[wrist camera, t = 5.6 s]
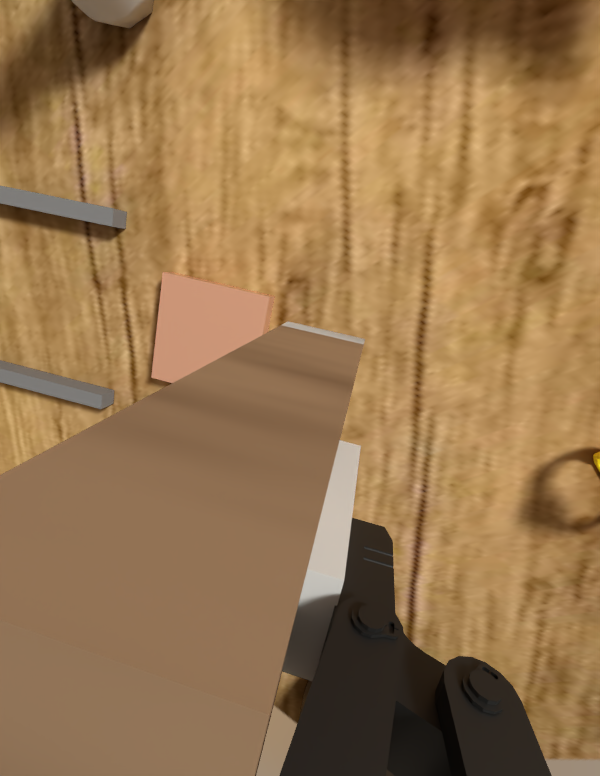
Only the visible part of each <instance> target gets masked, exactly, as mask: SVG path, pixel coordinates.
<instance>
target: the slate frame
mask: <svg viewBox="0 0 600 776" xmlns="http://www.w3.org/2000/svg"><path fill="white" fill-rule="evenodd" d="M0 203H1V204H6V205H11V206H16V207H21V208H25V209H30V210H35V211H40V212H45V213H49V214H54V215H59V216H64V217H69V218H73V219H78V220H83V221H88V222H93V223H97V224H102V225H107V226H112V227H117V228H122V229H126V214H127V212H125V211H121V210H117V209H113V208H108V207H103V206H98V205H93V204H88V203H83V202H78V201H73V200H68V199H63V198H59V197H54V196H49V195H44V194H39V193H34V192H29V191H24V190H19V189H14V188H9V187H4V186H0ZM0 382H1V383H5V384H9V385H13V386H16V387H20V388H24V389H27V390H31V391H35V392H39V393H42V394H46V395H50V396H54V397H57V398H61V399H65V400H68V401H72V402H76V403H80V404H83V405H87V406H91V407H94V408H98V409H103V408H105V407H107V406H109V405H111V404H113V401H114V390H112V389H108V388H104V387H100V386H96V385H92V384H89V383H85V382H81V381H77V380H73V379H70V378H66V377H62V376H58V375H54V374H50V373H47V372H43V371H39V370H35V369H31V368H27V367H24V366H20V365H16V364H12V363H8V362H5V361H1V360H0Z"/></svg>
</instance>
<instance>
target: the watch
mask: <svg viewBox="0 0 600 776" xmlns="http://www.w3.org/2000/svg"><path fill="white" fill-rule="evenodd" d="M593 459H594V463H595V465H596V467H597V468H598V470H599V472H600V452H597V453H595V454H594V455H593Z"/></svg>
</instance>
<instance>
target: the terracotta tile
mask: <svg viewBox="0 0 600 776" xmlns="http://www.w3.org/2000/svg"><path fill="white" fill-rule="evenodd" d="M274 297H275V296H273V295H268V294H264V293H260V292H255V291H251V290H247V289H243V288H238V287H234V286H230V285H225V284H221V283H217V282H212V281H208V280H204V279H200V278H195V277H191V276H187V275H182V274H178V273H174V272H163V275H162V285H161V294H160V303H159V312H158V321H157V330H156V339H155V348H154V357H153V366H152V376H151V378H155V379H159V380H162V381H166V382H170V383H174V382H176V381H177V380H179V379H181V378H183V377H185V376H187V375H189V374H191V373H192V372H194V371H196V370H198V369H200V368H202V367H204V366H206V365H207V364H209V363H211V362H213V361H215V360H217V359H219V358H221V357H222V356H224V355H226V354H228V353H230V352H232V351H234V350H236V349H237V348H239V347H241V346H243V345H245V344H247V343H249V342H251V341H252V340H254V339H256V338H258V337H260V336H262V335H264V334H266V333H267V332H268V329H269V324H270V318H271V313H272V308H273V303H274Z"/></svg>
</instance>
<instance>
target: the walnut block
mask: <svg viewBox="0 0 600 776" xmlns="http://www.w3.org/2000/svg"><path fill="white" fill-rule="evenodd" d="M364 341H365V339H362V338H358V337H354V336H349V335H345V334H341V333H336V332H332V331H328V330H323V329H319V328H315V327H310V326H306V325H302V324H297V323H293V322H289V321H288V322H286V323H284V324H282V325H281V326H279V327H277V328H275V329H273V330H271V331H269V332H267V333H266V334H264V335H262V336H260V337H258V338H256V339H254V340H252V341H251V342H249V343H247V344H245V345H243V346H241V347H239V348H237V349H236V350H234V351H232V352H230V353H228V354H226V355H224V356H222V357H221V358H219V359H217V360H215V361H213V362H211V363H209V364H207V365H206V366H204V367H202V368H200V369H198V370H196V371H194V372H192V373H191V374H189V375H187V376H185V377H183V378H181V379H179V380H177V381H176V382H174V383H172V384H170V385H168V386H166V387H164V388H162V389H161V390H159V391H157V392H155V393H153V394H151V395H149V396H147V397H146V398H144V399H142V400H140V401H138V402H136V403H134V404H133V405H131V406H129V407H127V408H125V409H123V410H121V411H119V412H118V413H116V414H114V415H112V416H110V417H108V418H106V419H104V420H103V421H101V422H99V423H97V424H95V425H93V426H91V427H89V428H88V429H86V430H84V431H82V432H80V433H78V434H76V435H74V436H73V437H71V438H69V439H67V440H65V441H63V442H61V443H59V444H58V445H56V446H54V447H52V448H50V449H48V450H46V451H44V452H43V453H41V454H39V455H37V456H35V457H33V458H31V459H29V460H28V461H26V462H24V463H22V464H20V465H18V466H16V467H14V468H13V469H11V470H9V471H7V472H5V473H3V474H1V475H0V776H256V773H257V769H258V765H259V761H260V757H261V753H262V749H263V745H264V741H265V736H266V733H267V729H268V725H269V721H270V717H271V713H272V709H273V705H274V701H275V697H276V693H277V689H278V685H279V681H280V677H281V673H282V669H283V665H284V661H285V657H286V653H287V649H288V645H289V641H290V637H291V633H292V629H293V624H294V620H295V616H296V612H297V608H298V604H299V600H300V596H301V592H302V588H303V584H304V580H305V576H306V572H307V568H308V564H309V560H310V556H311V552H312V548H313V544H314V540H315V536H316V532H317V529H318V525H319V521H320V517H321V513H322V509H323V505H324V501H325V497H326V493H327V489H328V485H329V481H330V477H331V473H332V469H333V465H334V461H335V457H336V453H337V449H338V445H339V441H340V437H341V433H342V429H343V425H344V421H345V417H346V413H347V409H348V405H349V401H350V397H351V393H352V389H353V385H354V381H355V377H356V373H357V369H358V365H359V361H360V357H361V353H362V349H363V345H364Z"/></svg>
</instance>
